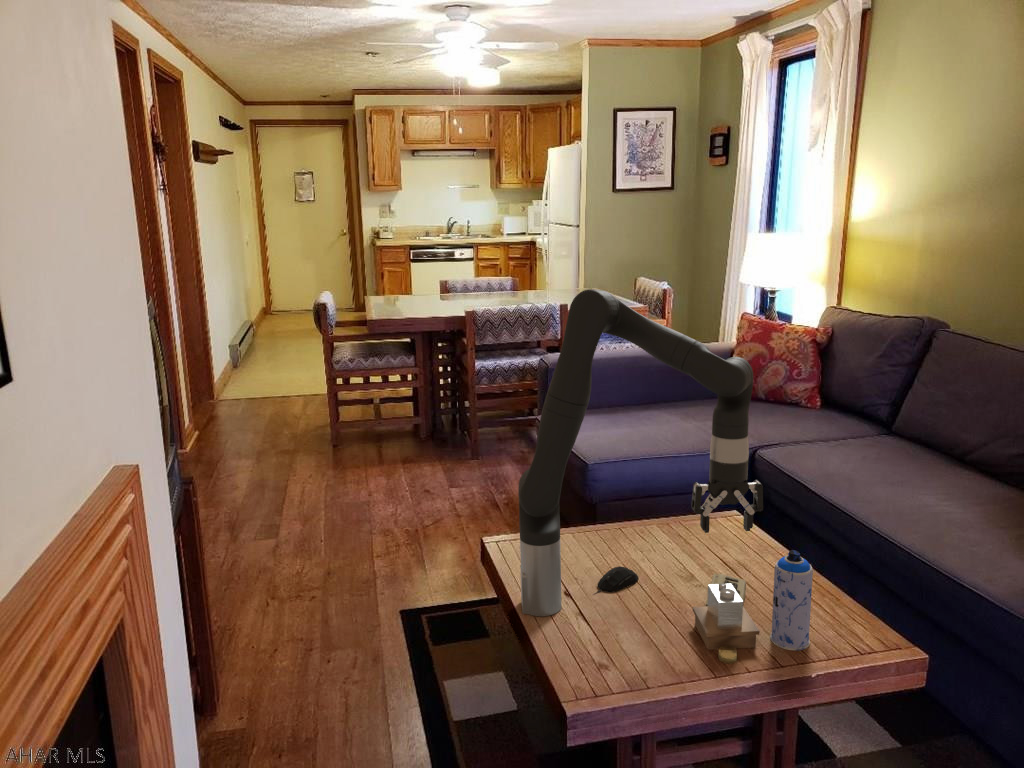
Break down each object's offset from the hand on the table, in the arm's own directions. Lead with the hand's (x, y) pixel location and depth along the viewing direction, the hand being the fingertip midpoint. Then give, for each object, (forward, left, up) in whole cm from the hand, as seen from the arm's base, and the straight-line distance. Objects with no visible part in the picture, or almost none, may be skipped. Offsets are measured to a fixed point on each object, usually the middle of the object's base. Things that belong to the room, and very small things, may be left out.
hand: (726, 530), depth 161 cm
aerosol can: (+13, -3, -24) cm, 28 cm away
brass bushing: (-2, -9, -24) cm, 26 cm away
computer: (+5, +15, -25) cm, 29 cm away
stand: (0, 0, -24) cm, 24 cm away
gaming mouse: (-19, +25, -25) cm, 40 cm away
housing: (0, 0, -20) cm, 20 cm away
